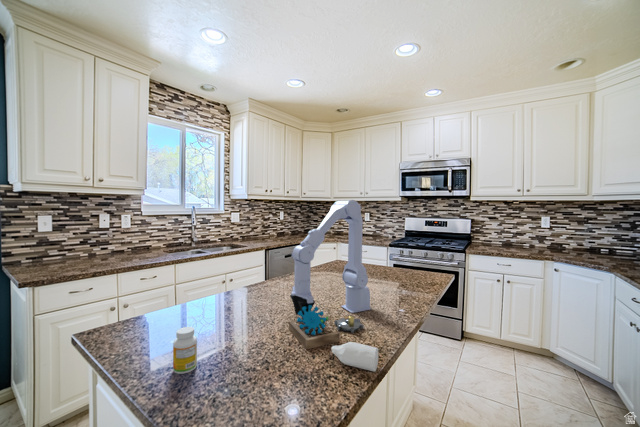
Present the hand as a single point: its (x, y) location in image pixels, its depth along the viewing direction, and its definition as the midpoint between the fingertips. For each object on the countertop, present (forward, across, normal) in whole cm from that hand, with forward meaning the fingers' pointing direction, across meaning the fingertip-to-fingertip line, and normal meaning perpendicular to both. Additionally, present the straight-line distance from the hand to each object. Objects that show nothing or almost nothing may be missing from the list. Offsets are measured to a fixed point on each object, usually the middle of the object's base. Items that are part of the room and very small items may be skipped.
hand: (301, 317), depth 100 cm
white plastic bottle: (+2, +31, +1) cm, 31 cm away
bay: (+2, +12, -1) cm, 12 cm away
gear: (+2, +9, 0) cm, 9 cm away
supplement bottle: (+2, +14, -38) cm, 40 cm away
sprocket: (+1, +11, +13) cm, 17 cm away
